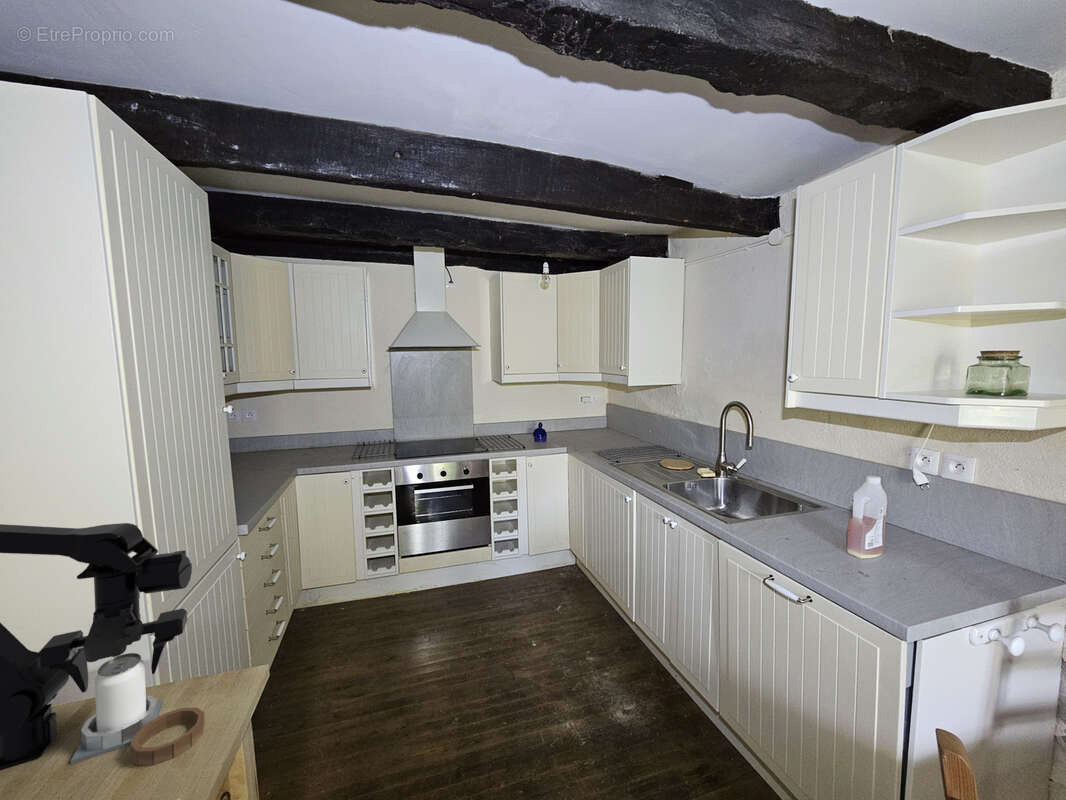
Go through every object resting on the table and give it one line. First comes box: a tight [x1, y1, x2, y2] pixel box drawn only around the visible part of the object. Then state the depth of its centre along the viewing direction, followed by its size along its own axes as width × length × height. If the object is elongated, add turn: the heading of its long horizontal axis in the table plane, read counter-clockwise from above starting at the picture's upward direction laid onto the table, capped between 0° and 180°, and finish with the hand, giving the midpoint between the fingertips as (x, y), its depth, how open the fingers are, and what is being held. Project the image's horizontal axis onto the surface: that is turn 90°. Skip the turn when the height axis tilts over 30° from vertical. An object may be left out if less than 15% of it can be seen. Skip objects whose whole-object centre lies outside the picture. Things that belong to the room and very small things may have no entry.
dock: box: [70, 695, 164, 765], centre depth 78 cm, size 10×10×3 cm
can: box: [94, 652, 147, 733], centre depth 77 cm, size 6×6×12 cm
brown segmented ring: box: [130, 707, 205, 766], centre depth 75 cm, size 10×10×2 cm
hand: (120, 681), depth 77 cm, fingers open, 9 cm apart
